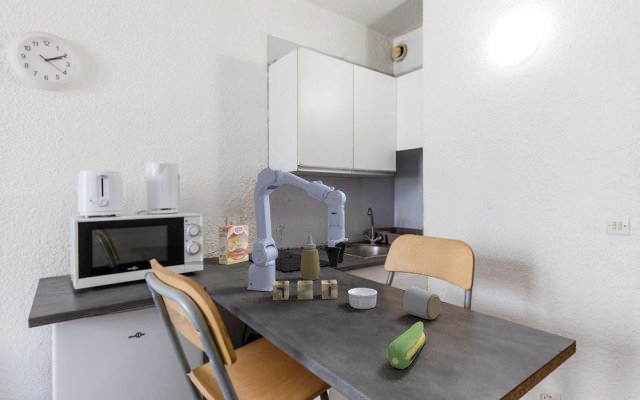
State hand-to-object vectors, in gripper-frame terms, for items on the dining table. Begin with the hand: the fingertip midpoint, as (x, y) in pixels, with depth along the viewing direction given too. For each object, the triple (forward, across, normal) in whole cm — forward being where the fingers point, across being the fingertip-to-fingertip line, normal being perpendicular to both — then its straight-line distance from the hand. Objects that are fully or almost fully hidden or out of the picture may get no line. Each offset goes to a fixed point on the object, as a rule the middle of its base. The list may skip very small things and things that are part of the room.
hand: (336, 265), depth 115 cm
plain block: (+10, -5, +10) cm, 15 cm away
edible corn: (+10, -38, -26) cm, 47 cm away
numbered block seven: (+10, -8, +17) cm, 21 cm away
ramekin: (+10, -9, -10) cm, 17 cm away
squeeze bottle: (+10, +19, +16) cm, 27 cm away
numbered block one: (+10, -3, +2) cm, 11 cm away
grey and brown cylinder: (+10, -13, -28) cm, 33 cm away
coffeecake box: (+10, +45, +67) cm, 82 cm away
